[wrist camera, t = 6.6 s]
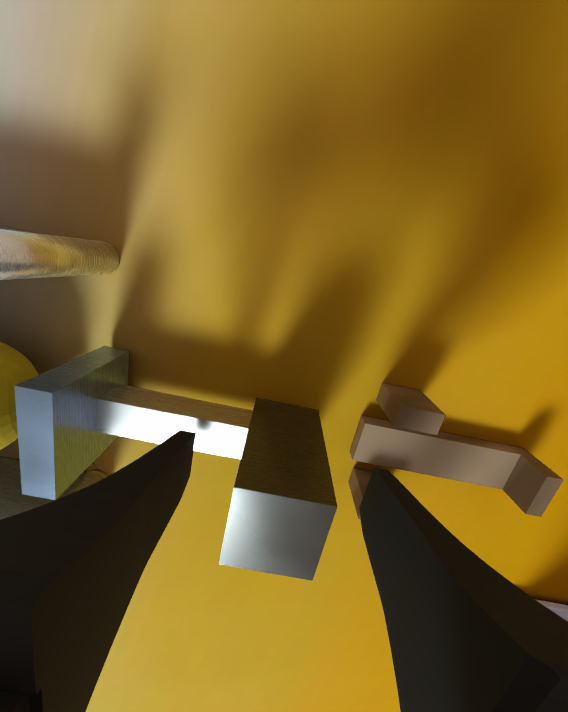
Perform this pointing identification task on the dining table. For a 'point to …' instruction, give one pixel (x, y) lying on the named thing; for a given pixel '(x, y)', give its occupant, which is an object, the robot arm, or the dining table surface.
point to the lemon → (11, 389)
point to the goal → (39, 260)
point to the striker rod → (213, 435)
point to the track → (444, 452)
